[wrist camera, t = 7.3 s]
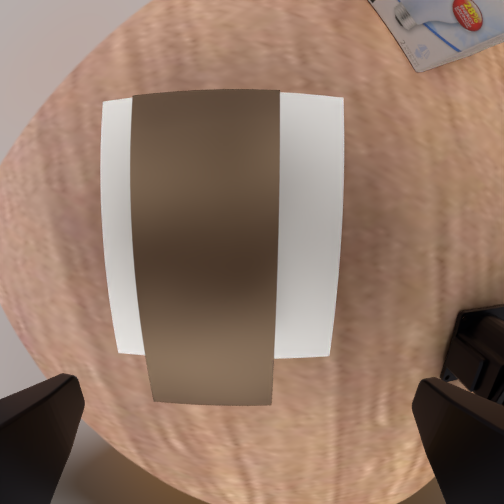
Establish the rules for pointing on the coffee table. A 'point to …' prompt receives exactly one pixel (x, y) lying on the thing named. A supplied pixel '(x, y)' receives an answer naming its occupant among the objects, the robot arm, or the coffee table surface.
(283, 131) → the peg stand
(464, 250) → the coffee table surface
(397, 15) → the light bulb box
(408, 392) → the coffee table surface
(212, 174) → the walnut board
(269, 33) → the coffee table surface
